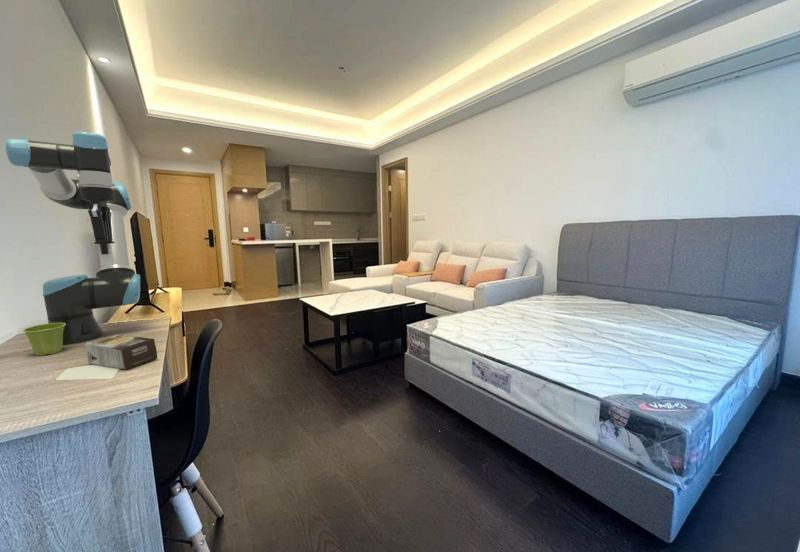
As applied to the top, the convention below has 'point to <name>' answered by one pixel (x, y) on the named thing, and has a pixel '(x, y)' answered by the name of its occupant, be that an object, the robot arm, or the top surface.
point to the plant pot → (46, 338)
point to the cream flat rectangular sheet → (89, 372)
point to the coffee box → (121, 351)
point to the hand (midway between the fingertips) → (107, 264)
